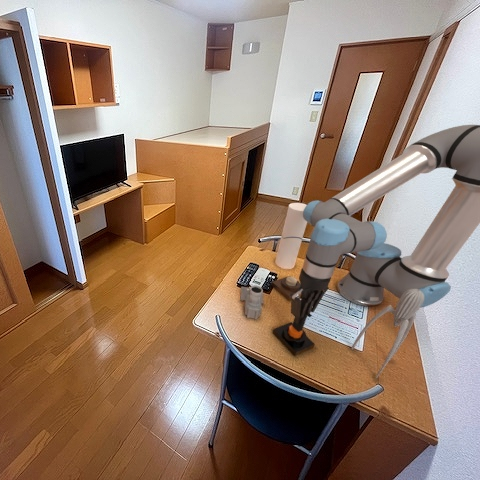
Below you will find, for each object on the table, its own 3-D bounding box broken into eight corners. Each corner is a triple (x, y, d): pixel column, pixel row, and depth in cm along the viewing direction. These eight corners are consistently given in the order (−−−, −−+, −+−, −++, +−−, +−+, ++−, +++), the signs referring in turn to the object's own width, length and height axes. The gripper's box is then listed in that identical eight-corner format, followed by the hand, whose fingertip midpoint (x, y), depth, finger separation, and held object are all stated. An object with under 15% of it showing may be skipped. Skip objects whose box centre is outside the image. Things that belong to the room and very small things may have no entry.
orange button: (294, 327, 89) (295, 323, 88) (303, 336, 86) (305, 332, 85) (285, 330, 88) (286, 326, 87) (294, 340, 85) (296, 335, 83)
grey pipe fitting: (243, 293, 92) (244, 268, 105) (239, 316, 98) (240, 291, 111) (269, 297, 90) (267, 271, 102) (264, 321, 96) (261, 294, 108)
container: (296, 269, 121) (313, 211, 106) (276, 268, 123) (291, 210, 107) (292, 259, 128) (308, 203, 113) (273, 257, 130) (287, 202, 114)
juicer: (404, 376, 77) (462, 302, 61) (375, 379, 76) (426, 305, 61) (376, 345, 86) (421, 275, 70) (350, 348, 85) (389, 277, 70)
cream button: (290, 279, 110) (291, 275, 109) (298, 284, 107) (299, 281, 106) (283, 281, 109) (284, 277, 108) (290, 287, 106) (291, 283, 105)
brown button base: (289, 279, 115) (291, 272, 113) (307, 293, 107) (309, 286, 105) (271, 285, 113) (272, 278, 110) (288, 300, 104) (290, 293, 102)
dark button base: (290, 326, 94) (292, 318, 92) (313, 348, 86) (316, 340, 84) (272, 333, 91) (274, 325, 89) (294, 356, 83) (297, 348, 81)
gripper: (322, 259, 78) (303, 314, 90) (288, 270, 74) (273, 326, 87) (345, 273, 72) (321, 330, 84) (309, 286, 68) (290, 343, 81)
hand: (297, 328), depth 85 cm, fingers closed
